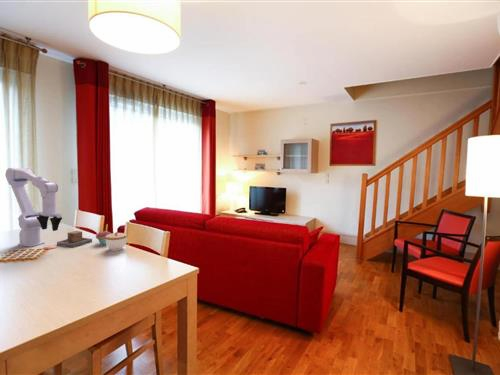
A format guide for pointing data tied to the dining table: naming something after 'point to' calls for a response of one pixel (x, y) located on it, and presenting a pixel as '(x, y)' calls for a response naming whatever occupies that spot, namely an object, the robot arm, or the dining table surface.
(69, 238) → the walnut block
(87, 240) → the slate tray
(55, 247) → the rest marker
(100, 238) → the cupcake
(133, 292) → the dining table surface
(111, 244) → the lidded jar
